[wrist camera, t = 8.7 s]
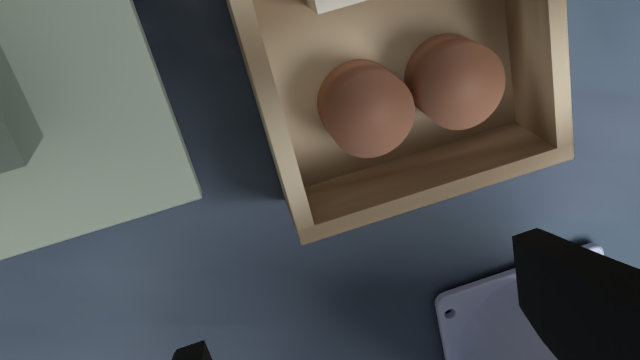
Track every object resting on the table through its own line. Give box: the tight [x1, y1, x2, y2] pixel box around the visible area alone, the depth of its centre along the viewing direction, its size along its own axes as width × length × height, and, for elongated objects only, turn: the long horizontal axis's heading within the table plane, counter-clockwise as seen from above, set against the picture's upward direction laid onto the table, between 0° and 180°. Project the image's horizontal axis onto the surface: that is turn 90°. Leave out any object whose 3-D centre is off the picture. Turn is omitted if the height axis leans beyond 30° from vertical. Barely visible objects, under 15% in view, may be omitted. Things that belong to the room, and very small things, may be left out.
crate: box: [226, 0, 574, 246], centre depth 20 cm, size 13×10×4 cm
